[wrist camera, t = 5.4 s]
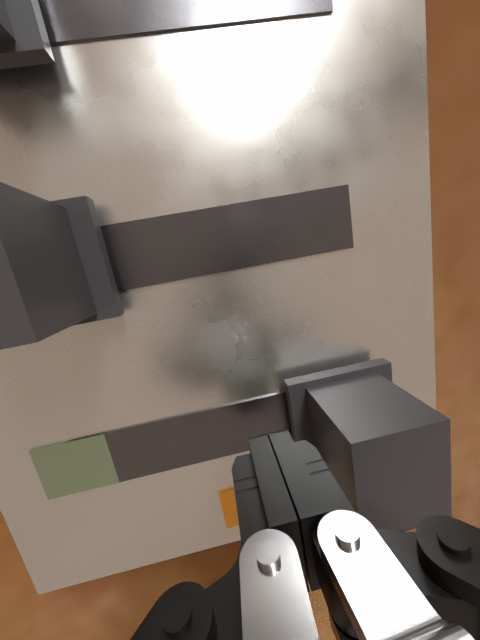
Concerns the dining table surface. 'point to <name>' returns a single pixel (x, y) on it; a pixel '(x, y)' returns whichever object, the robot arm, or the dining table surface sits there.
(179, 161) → the switch panel
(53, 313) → the lever middle
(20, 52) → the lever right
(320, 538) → the robot arm
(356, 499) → the lever
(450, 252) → the dining table surface
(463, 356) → the dining table surface
